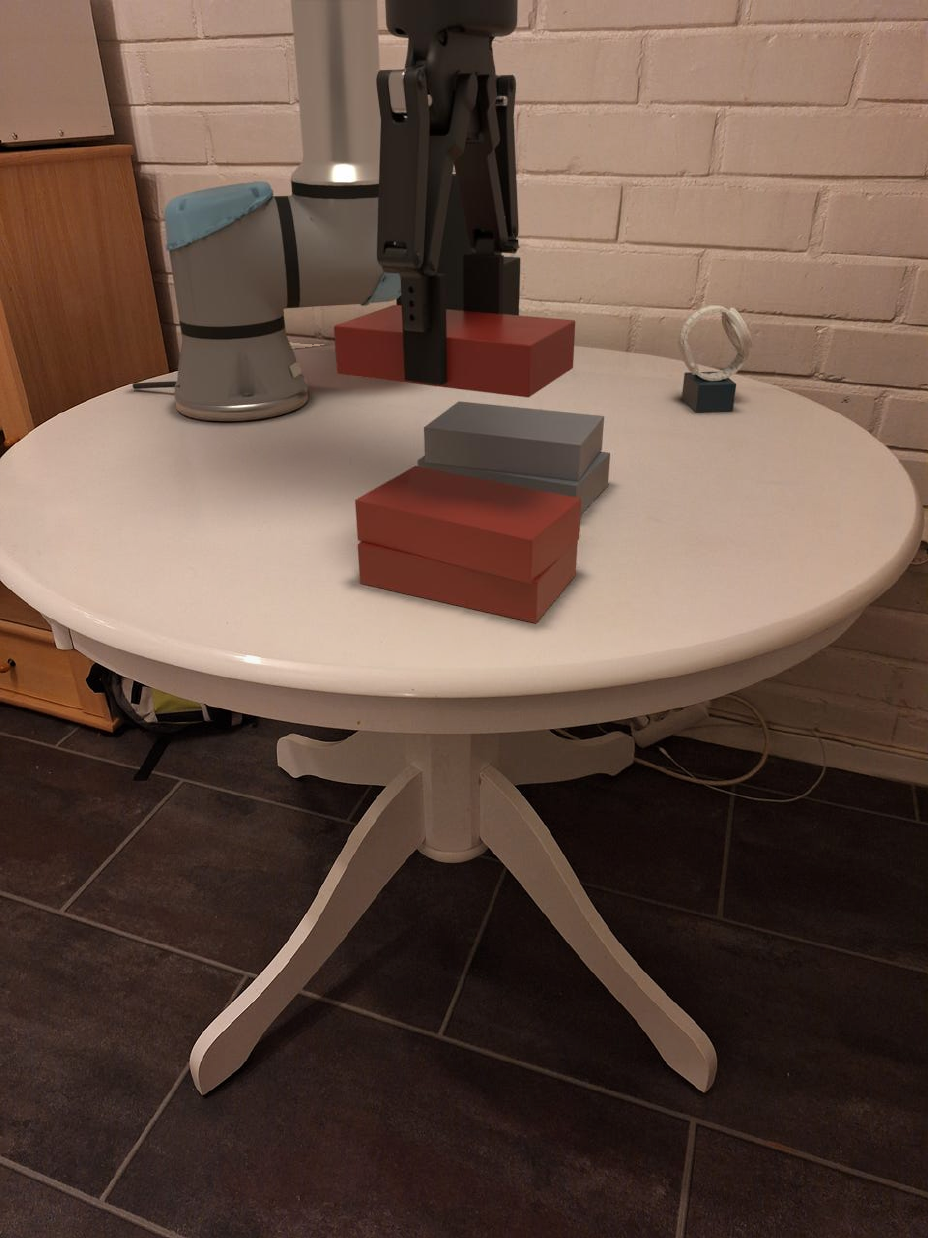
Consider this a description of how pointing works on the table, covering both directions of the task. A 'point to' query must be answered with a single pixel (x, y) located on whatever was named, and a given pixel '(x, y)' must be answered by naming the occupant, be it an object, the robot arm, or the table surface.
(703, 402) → the ring sculpture
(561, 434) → the grey book top
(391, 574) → the red stack low
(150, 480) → the table surface
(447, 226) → the bookend
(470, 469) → the grey book low
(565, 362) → the red book
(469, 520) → the red stack top
